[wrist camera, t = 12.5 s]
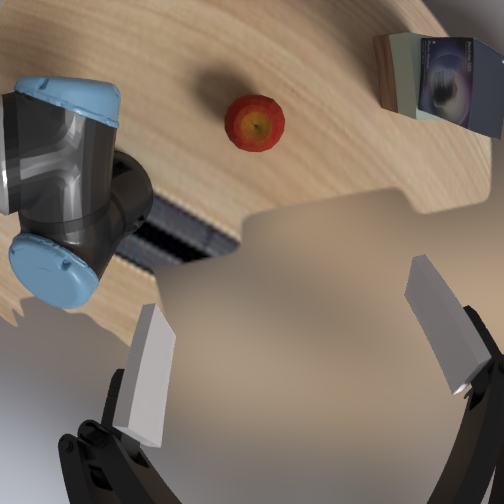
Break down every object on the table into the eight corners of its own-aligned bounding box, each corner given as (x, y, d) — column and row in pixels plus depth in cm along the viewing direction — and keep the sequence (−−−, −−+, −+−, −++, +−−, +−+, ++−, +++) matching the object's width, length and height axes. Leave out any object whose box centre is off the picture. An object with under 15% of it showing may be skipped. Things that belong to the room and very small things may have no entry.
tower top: (397, 113, 32) (416, 119, 27) (388, 34, 25) (407, 32, 21) (442, 113, 31) (462, 121, 27) (436, 42, 24) (457, 42, 20)
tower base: (381, 107, 36) (396, 112, 32) (372, 37, 29) (387, 34, 25) (424, 108, 35) (441, 114, 31) (418, 43, 28) (435, 42, 24)
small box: (417, 35, 21) (472, 34, 12) (453, 50, 21) (508, 57, 12) (414, 110, 27) (468, 130, 18) (450, 119, 27) (502, 142, 18)
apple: (268, 85, 34) (275, 87, 28) (287, 133, 38) (297, 145, 32) (217, 105, 35) (212, 110, 29) (238, 151, 40) (238, 167, 33)
